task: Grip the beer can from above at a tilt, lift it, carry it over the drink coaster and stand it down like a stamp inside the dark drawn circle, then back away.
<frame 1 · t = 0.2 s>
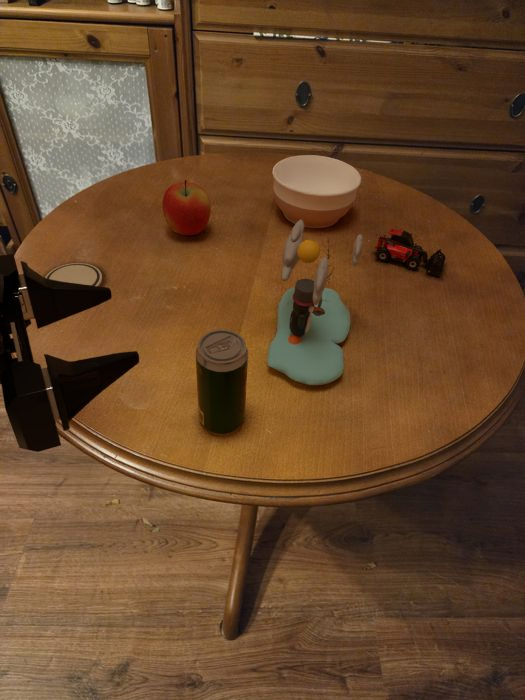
hand: (123, 322, 44), 17 cm above the table, tool horizontal, fingers open, 9 cm apart
bowl: (311, 214, 95), on the table
apple: (188, 232, 87), on the table
drink coaster: (73, 280, 75), on the table
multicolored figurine: (308, 338, 69), on the table
beer can: (221, 420, 58), on the table
loader: (405, 262, 85), on the table
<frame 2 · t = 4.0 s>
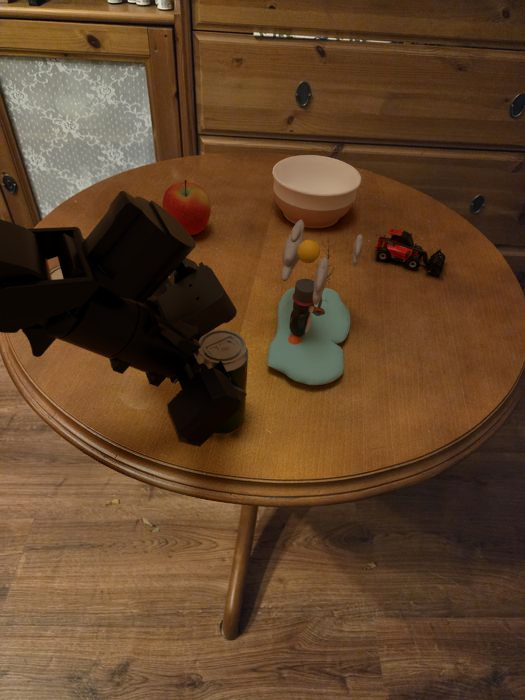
hand: (233, 378, 54), 7 cm above the table, tool tilted 45°, fingers closed on beer can, 5 cm apart
beer can: (221, 420, 58), on the table, touching gripper
everything else where it was.
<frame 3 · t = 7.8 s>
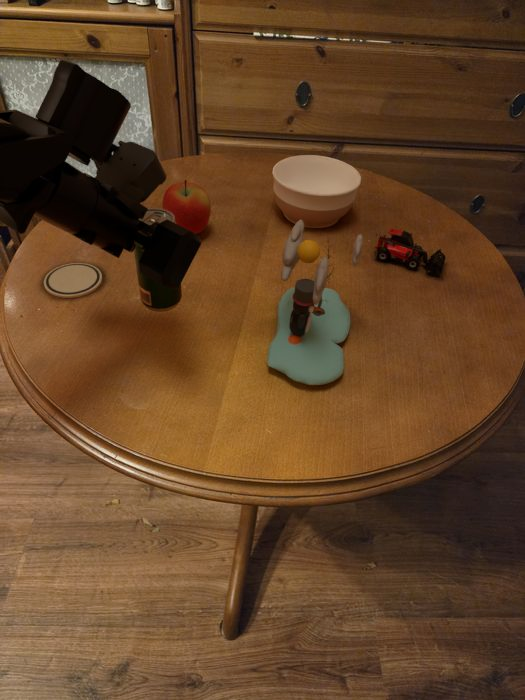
hand: (165, 253, 62), 11 cm above the table, tool tilted 45°, fingers closed on beer can, 5 cm apart
beer can: (161, 301, 66), point 5 cm above the table, touching gripper
everything else where it was.
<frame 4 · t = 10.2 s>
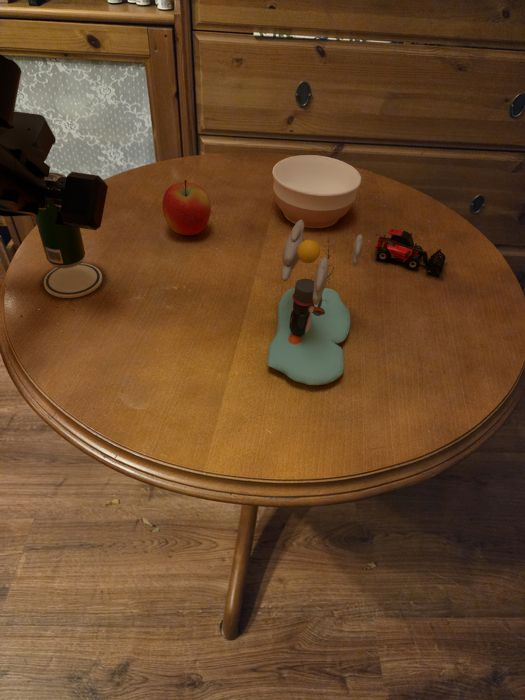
hand: (61, 214, 69), 11 cm above the table, tool tilted 45°, fingers closed on beer can, 5 cm apart
beer can: (67, 260, 73), point 4 cm above the table, touching gripper
everything else where it was.
when the fingers open (7 cm above the table, at t = 11.7 s): beer can stays where it is, resting on drink coaster.
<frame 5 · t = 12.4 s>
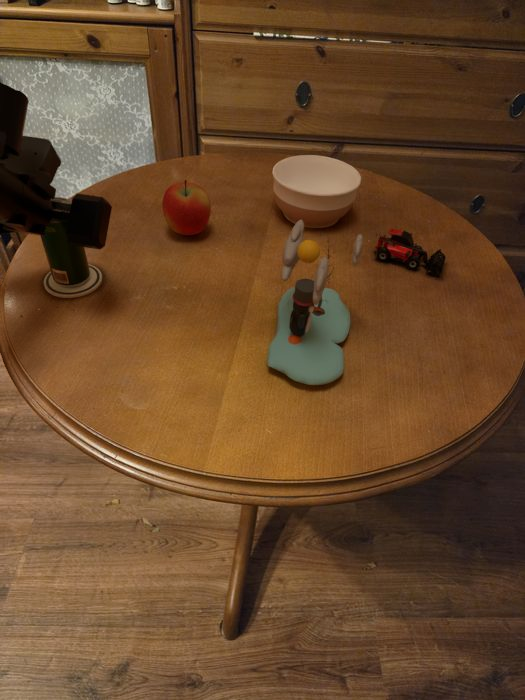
hand: (66, 230, 71), 8 cm above the table, tool tilted 45°, fingers open, 9 cm apart
beer can: (72, 279, 75), resting on drink coaster
everything else where it was.
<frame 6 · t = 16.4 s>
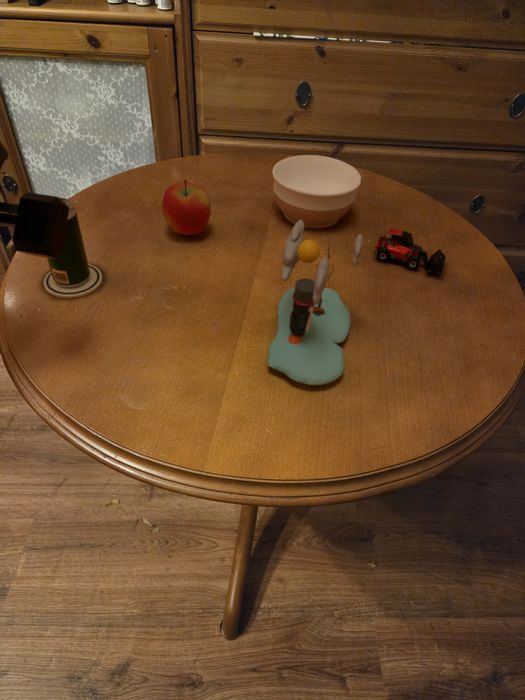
hand: (22, 235, 61), 13 cm above the table, tool tilted 45°, fingers open, 9 cm apart
nothing on the table moved.
at the end: beer can 0.1 cm off-centre on the drink coaster, point 0.3 cm above the drink coaster's base; beer can tilted 0°; the gripper is holding nothing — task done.
